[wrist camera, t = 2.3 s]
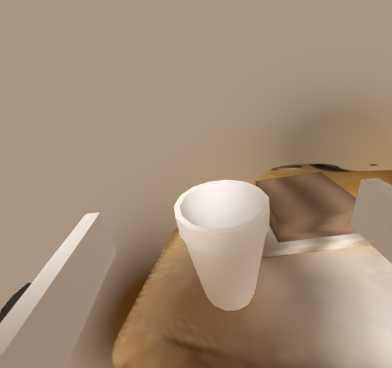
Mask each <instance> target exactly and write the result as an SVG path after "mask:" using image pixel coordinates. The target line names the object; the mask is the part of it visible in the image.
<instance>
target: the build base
mask: <svg viewBox="0 0 392 368" xmlns="http://www.w3.org/2000/svg"><path fill="white" fill-rule="evenodd" d="M256 186H257V187H259V188H260V189H261V190H262V191H263V192H264V193H265V194H266V195H267V196H268V197H269V207H270V216H269V231H268V232H267V233H266V237H265V242H264V248H263V253H262V257H271V256H280V255H288V254H297V253H306V252H314V251H323V250H332V249H340V248H349V247H358V246H366V245H371V244H370V243H369V242H368V241H367V240H366V239H365V238H364V237H363V236H362V235H361V234H359V233H358V232H357V231H356V230H355V229H354V228H353V227H352V226H351V225H350V222H351V218H352V214H353V210H354V206H355V202H356V198H355V197H354V196H352V195H351V194H350V193H348V192H347V191H346V190H344V189H343V188H342V187H340V186H339V185H338V184H336V183H335V182H333V181H332V180H331V179H329V178H328V177H327V176H325V175H324V174H323V173H321V172H319V173H312V174H305V175H297V176H290V177H282V178H275V179H268V180H260V181H256Z"/></svg>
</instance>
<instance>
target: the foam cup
mask: <svg viewBox="0 0 392 368" xmlns="http://www.w3.org/2000/svg"><path fill="white" fill-rule="evenodd" d="M174 210H175V215H176V220H177V225H178V229H179V234H180V237H181V238H182V239H183V240H184V242H185V245H186V247H187V250H188V252H189V254H190V257H191V259H192V262H193V264H194V267H195V269H196V272H197V274H198V277H199V279H200V282H201V284H202V286H203V289H204V291H205V294H206V296H207V298H208V299H209V300H210V302H211V303H212V304H213V305H214V306H215V307H218V308H220V309H222V310H225V311H235V310H240V309H241V308H243V307H245V306H247V305H248V304H249V303H250V301H251V300H252V298H253V296H254V293H255V289H256V284H257V279H258V273H259V268H260V263H261V258H262V253H263V248H264V242H265V237H266V233H267V232H268V231H269V216H270V207H269V197H268V196H267V195H266V194H265V193H264V192H263V191H262V190H261V189H260V188H259V187H257V186H254V185H252V184H249V183H246V182H242V181H233V180H221V181H213V182H212V181H211V182H207V183H204V184H201V185H198V186H195V187H192V188H191V189H190V190H188V191H187V192H185V193H183V194H182V195H181V196H180V197H179V199H178V200H177V202H176V204H175V205H174Z"/></svg>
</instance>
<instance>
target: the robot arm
mask: <svg viewBox="0 0 392 368" xmlns="http://www.w3.org/2000/svg"><path fill="white" fill-rule="evenodd" d="M350 225H351V226H352V227H353V228H354V229H355V230H356V231H357V232H358V233H359V234H361V235H362V236H363V237H364V238H365V239H366V240H367V241H368V242H369V243H370V244H371V245H372V246H373V247H374V248H376V249H377V250H378V251H379V252H380V253H381V254H382V255H383V256H384V257H385V258H386V259H387V260H388V261H389V262H391V263H392V185H390V184H388V183H387V182H385V181H383V180H381V179H379V178H370V179H362V180H361V182H360V186H359V190H358V194H357V198H356V202H355V206H354V210H353V214H352V218H351V222H350ZM115 254H116V249H115V247H114V244H113V242H112V240H111V237H110V235H109V232H108V230H107V228H106V225H105V223H104V221H103V218H102V216H101V213H100V212H99V213H91V214H86V215H85V216H84V217H83V218H82V220H81V221H80V222H79V224H78V225H77V226H76V227H75V229H74V230H73V231H72V232H71V234H70V235H69V236H68V238H67V239H66V240H65V241H64V243H63V244H62V245H61V246H60V248H59V249H58V250H57V252H56V253H55V254H54V255H53V257H52V258H51V259H50V261H49V262H48V263H47V264H46V266H45V267H44V268H43V269H42V271H41V272H40V273H39V275H38V276H37V277H36V278H35V280H34V281H33V282H32V283H27V284H26V285H25V286H24V287H23V288H21V289H20V290H19V291H18V292H17V293H15V294H14V295H13V296H12V297H11V299H10V300H9V301H8V302H7V303H6V305H5V306H4V307H3V308H2V309H1V312H0V368H66V366H67V363H68V361H69V359H70V356H71V354H72V352H73V350H74V347H75V345H76V343H77V340H78V338H79V336H80V334H81V331H82V329H83V327H84V325H85V322H86V320H87V318H88V315H89V313H90V311H91V308H92V306H93V304H94V302H95V299H96V297H97V294H98V293H99V290H100V288H101V285H102V283H103V281H104V279H105V276H106V274H107V272H108V270H109V268H110V265H111V263H112V261H113V258H114V256H115Z"/></svg>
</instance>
